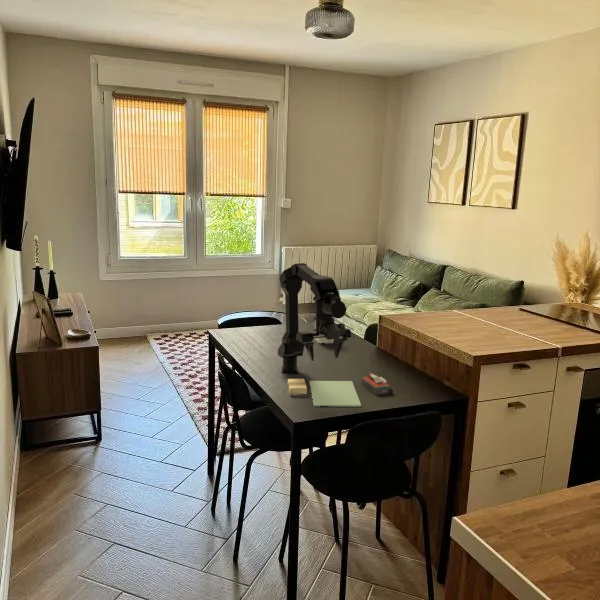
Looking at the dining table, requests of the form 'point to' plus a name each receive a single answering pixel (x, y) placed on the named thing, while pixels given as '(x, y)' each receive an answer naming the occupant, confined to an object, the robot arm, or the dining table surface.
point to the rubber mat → (334, 394)
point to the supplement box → (323, 340)
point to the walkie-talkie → (376, 384)
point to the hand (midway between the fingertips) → (324, 359)
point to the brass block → (297, 386)
